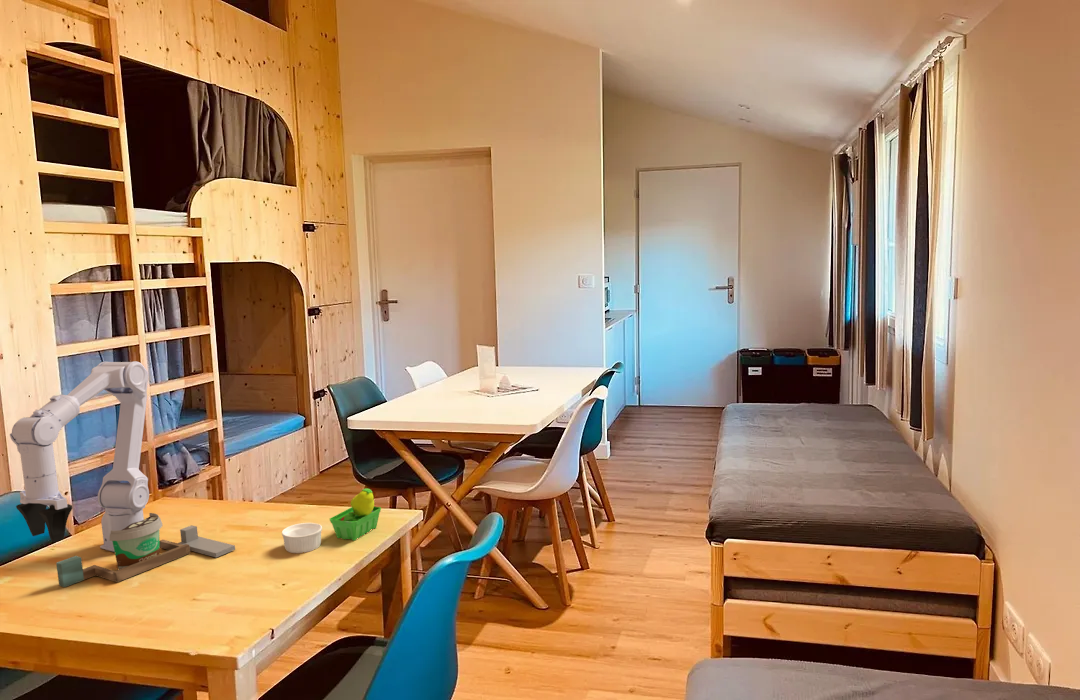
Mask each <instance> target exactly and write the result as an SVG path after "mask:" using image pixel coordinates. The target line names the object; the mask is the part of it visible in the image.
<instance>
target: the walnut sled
mask: <svg viewBox="0 0 1080 700" xmlns="http://www.w3.org/2000/svg"><path fill="white" fill-rule="evenodd" d="M159 541H160V548H161V549H164V550H166V551H164V552H162V553H161V552H160V554H159V555H156V556H154V557H152V558H149V559H147V560H143V561H141V562H138V563H135V564H133V565H130V566H128V567H125V568H122V569H120V570H118V569H117V570H112V569H109V568H105V567H102V566H100V565H96V564H93V565H90V566H87V567H85V568H84V567H83V560H82V557H81V556H78V555H74V556H71V557H68V558H66V559H63V560H60V561H57V562H56V563H55V564H56V572H57V573H56V574H57V578H58V579H57V582H58V586H59V587H63V588H67V587H69V586H71V585H75V584H76V583H80V582H82V581H84V580H86V579H87V580H88V579H89V578H92V577H95V576H97V577H100V578H103V579H106V580H109V581H112V582H115V583H119V582H121V581H123V580H126V579H129V578H131V577H134V576H136V575H139V574H141V573H144V572H147V571H149V570H151V569H153V568H157V567H158V566H161V565H164V564H166V563H169V562H171V561H174V560H176V559H179V558H182V557H184V556H187V555H189V554H191V551H190V546H189V545H188V544H185V545H182V544H178V543H179V542H174V541H170V540H166V539H161V540H160V539H159Z"/></svg>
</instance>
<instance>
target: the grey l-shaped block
mask: <svg viewBox="0 0 1080 700" xmlns="http://www.w3.org/2000/svg"><path fill="white" fill-rule="evenodd" d="M179 531H180V540H181V541H179V542H177V543H178V544H182V545H185V544H188V545H189V546H190V552H195V553H198V554H202V555H206V556H210V557H213V558H219V557H222V556H223V555H226V554H229V553H231V552H233V551H235V550H236V546H235V545H234V544H230V543H227V542H223V541H219V540H215V539H211V538H207V537H202V536H199V534H198V533H199V532H198V527H197V526H195V525H188V526H185V527H183V528H181V529H179Z"/></svg>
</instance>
